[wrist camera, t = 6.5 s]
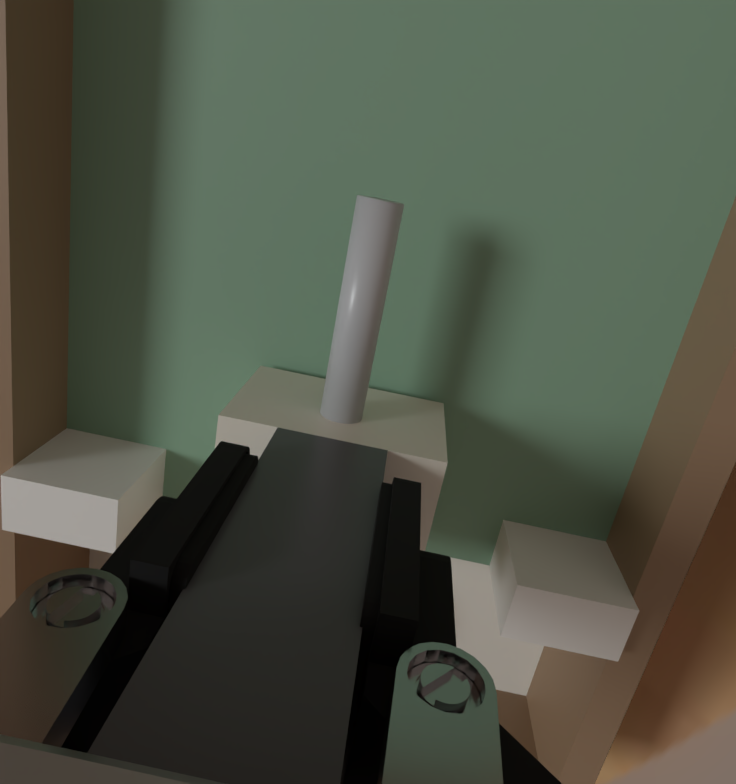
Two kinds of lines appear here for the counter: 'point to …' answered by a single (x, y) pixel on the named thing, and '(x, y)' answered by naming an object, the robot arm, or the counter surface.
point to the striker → (287, 559)
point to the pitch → (404, 295)
